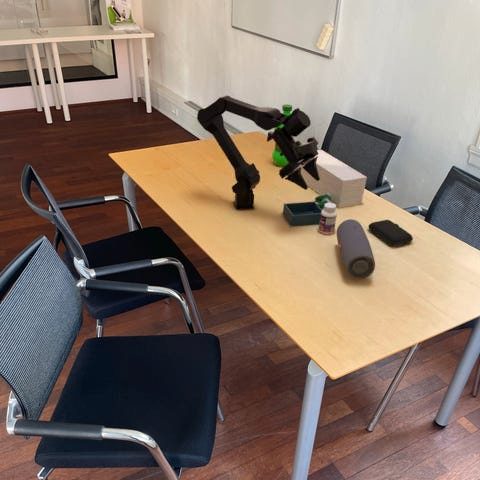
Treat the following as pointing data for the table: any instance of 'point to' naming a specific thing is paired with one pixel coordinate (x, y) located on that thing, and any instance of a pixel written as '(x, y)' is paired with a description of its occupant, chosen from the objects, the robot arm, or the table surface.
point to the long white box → (336, 180)
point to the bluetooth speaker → (355, 249)
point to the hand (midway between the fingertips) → (312, 184)
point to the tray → (302, 213)
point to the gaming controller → (323, 200)
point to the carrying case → (390, 232)
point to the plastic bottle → (276, 153)
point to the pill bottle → (328, 218)
